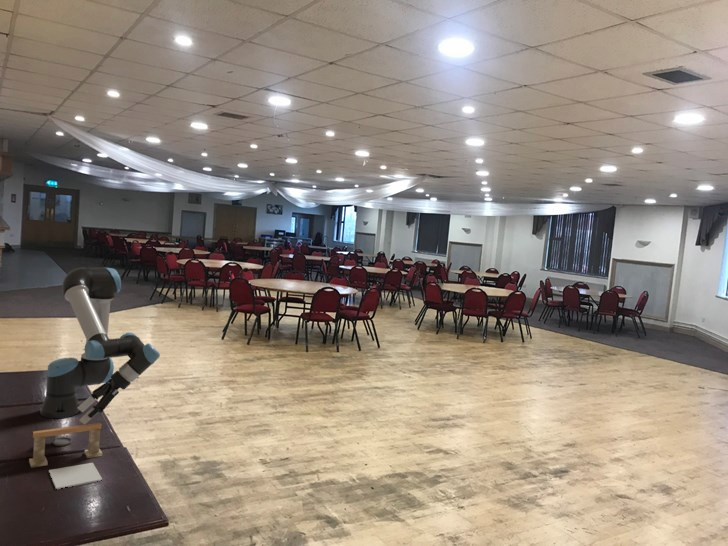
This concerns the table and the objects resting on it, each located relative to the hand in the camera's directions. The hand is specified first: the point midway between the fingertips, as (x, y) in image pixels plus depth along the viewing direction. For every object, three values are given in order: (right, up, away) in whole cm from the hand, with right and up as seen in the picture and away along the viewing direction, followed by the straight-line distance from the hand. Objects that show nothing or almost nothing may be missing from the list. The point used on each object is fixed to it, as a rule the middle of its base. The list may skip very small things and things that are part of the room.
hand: (80, 416), depth 213 cm
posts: (+1, -12, -13) cm, 18 cm away
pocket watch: (-8, -10, -1) cm, 13 cm away
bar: (+3, -2, -14) cm, 14 cm away
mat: (+11, -14, -24) cm, 30 cm away
